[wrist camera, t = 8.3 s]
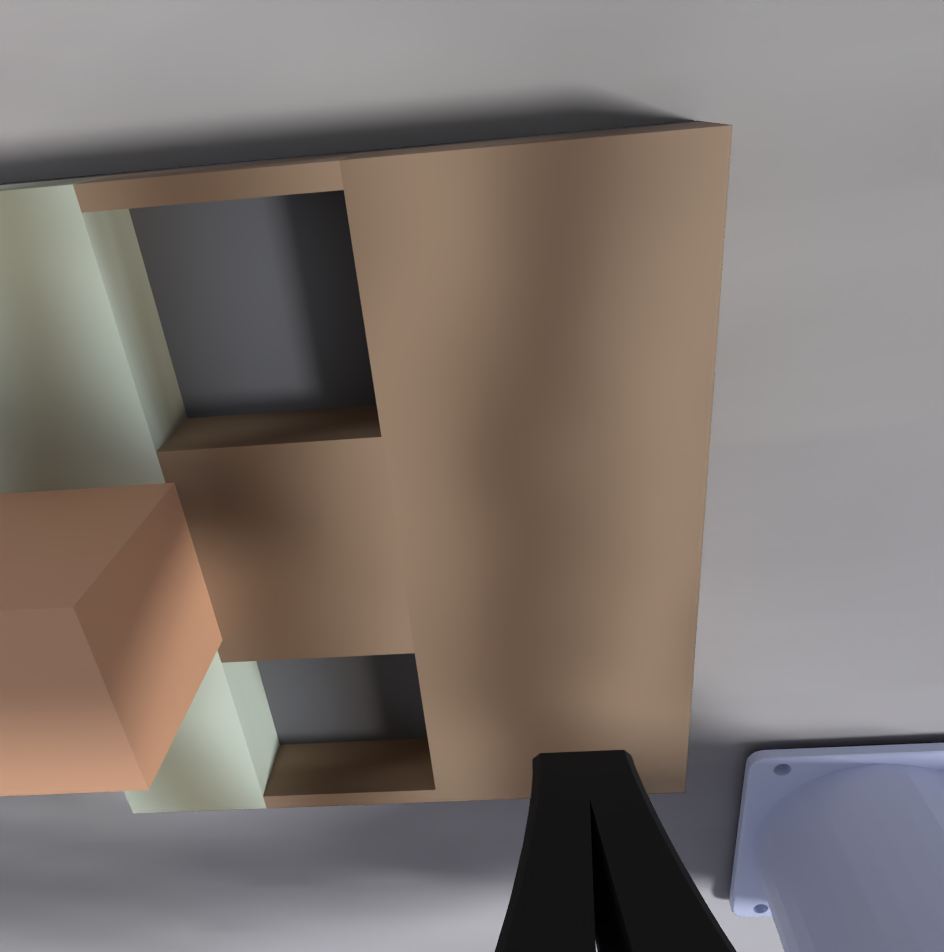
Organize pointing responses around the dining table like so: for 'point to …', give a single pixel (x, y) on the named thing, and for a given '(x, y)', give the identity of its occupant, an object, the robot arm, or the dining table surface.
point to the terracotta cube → (97, 636)
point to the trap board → (395, 444)
